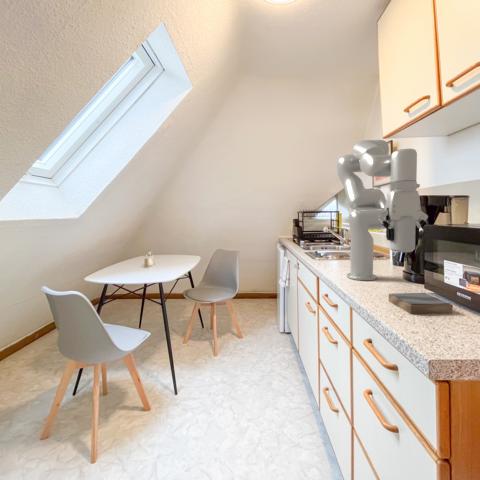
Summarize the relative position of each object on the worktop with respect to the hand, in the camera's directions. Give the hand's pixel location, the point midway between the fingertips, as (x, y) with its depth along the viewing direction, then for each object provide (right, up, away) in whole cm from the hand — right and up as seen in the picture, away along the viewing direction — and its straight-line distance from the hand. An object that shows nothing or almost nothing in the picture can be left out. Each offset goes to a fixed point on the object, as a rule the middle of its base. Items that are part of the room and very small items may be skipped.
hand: (402, 239), depth 93 cm
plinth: (0, -21, -8) cm, 23 cm away
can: (0, -4, 0) cm, 4 cm away
